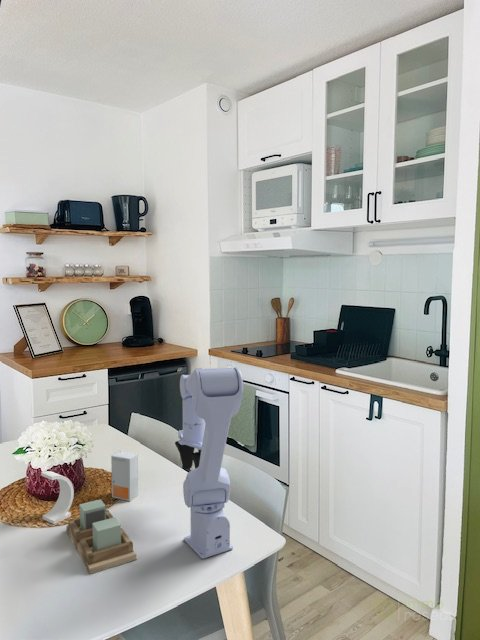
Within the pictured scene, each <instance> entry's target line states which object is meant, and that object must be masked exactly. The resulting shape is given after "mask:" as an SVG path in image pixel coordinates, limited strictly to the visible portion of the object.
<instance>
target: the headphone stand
mask: <svg viewBox="0 0 480 640" xmlns="http://www.w3.org/2000/svg"><path fill="white" fill-rule="evenodd" d="M40 476H42V477H43V478H45V479H48V480H50V481H55V480H57V482H58V483H59V484H58V485H59V495H58V498H57V500H56V502H55V504H54V505H53V507H52V508H51V509H50V510H49V511H48V512H47V513H45V514H43V515H42V520H45V521H47V522H48V523H50V524H52V525H55V524H57V523H59V522H62V521H63V520H66V519H68V518H70V517H72V512H70V511H69V510H70V508H71V506H72V504H73V502H74V501H73V500H74V495H75V493H74V492H75V489H74V485H73V483H72V481H71V480H70V479H69V478H68V477H66V476H64V475H61V474H60V473H56V472H54V471H50V470H47V471H41V472H40Z"/></svg>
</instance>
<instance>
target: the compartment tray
mask: <svg viewBox="0 0 480 640" xmlns="http://www.w3.org/2000/svg"><path fill="white" fill-rule="evenodd" d="M114 517H115V516H113V515H112V513H111V512H110V511H109V509H106V519H110V518H114ZM65 528H66V533H67V535H68V537H69V538H70V540H71V542H72V544H73V546H74V548H75V549H76V551H77V553H78V555H79V556H80V559H81V560H82V562H83V564H84V566H85V568H86V570H87V571H88V573H89V575H91V574H95V573H98V572H101V571H105V570H108V569H110V568H114V567H116V566H120V565H121V566H122V565H123V564H126V563H130V562H133V561H136V560H137V553H136V552H135V550H134V542H133V541H132V540H131V538H130V537H129V535H127V533H126V531H125V530H124V529H123V528H122V527H121V544H119V545H116V546H112V547H109V548H106V549H102V550H99V551H95V552H94V550H93V530H92V528H89V529H86V530H82V531H81V529H80V516H77V517H73V518H70V519H68V525H66V526H65Z"/></svg>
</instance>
